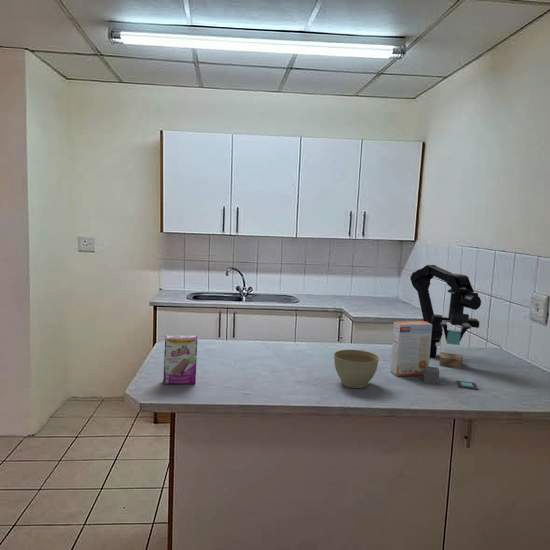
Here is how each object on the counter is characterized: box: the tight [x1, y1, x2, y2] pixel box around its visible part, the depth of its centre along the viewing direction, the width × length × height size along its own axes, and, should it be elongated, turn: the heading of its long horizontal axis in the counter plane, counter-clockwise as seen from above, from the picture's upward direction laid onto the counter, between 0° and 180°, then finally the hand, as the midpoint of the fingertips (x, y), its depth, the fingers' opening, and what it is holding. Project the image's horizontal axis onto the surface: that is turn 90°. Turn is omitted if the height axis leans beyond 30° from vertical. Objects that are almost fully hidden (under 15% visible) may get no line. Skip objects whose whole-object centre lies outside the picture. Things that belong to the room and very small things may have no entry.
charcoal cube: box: [423, 366, 440, 385], centre depth 191 cm, size 5×5×5 cm
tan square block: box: [439, 351, 464, 370], centre depth 215 cm, size 9×9×4 cm
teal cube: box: [445, 329, 461, 346], centre depth 212 cm, size 5×5×5 cm
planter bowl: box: [333, 349, 380, 389], centre depth 182 cm, size 16×16×11 cm
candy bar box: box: [163, 334, 198, 385], centre depth 174 cm, size 11×5×16 cm, turn 102°
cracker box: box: [390, 320, 432, 377], centre depth 197 cm, size 14×6×21 cm, turn 103°
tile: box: [455, 380, 479, 391], centre depth 188 cm, size 7×7×1 cm
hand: (452, 340), depth 212 cm, fingers closed on teal cube, 5 cm apart
